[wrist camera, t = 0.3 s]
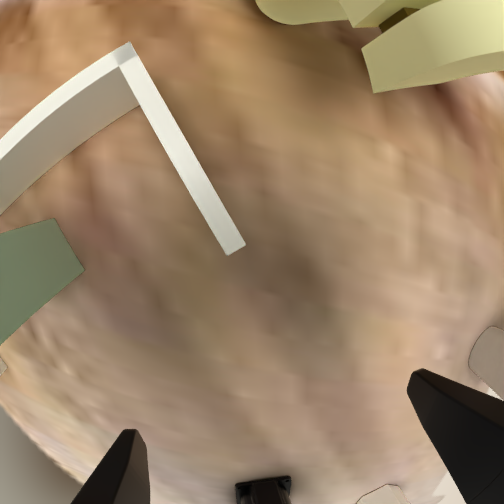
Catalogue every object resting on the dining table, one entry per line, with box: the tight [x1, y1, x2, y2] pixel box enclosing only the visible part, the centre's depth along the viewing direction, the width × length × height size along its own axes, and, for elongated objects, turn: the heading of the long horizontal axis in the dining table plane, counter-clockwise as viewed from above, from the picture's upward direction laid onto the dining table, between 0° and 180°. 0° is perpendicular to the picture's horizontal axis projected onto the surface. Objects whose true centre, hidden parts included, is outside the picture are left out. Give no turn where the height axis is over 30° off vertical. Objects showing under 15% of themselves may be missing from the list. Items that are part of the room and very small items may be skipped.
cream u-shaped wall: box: [0, 42, 246, 376], centre depth 15 cm, size 12×26×7 cm, turn 119°
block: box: [0, 218, 85, 345], centre depth 13 cm, size 4×4×12 cm
